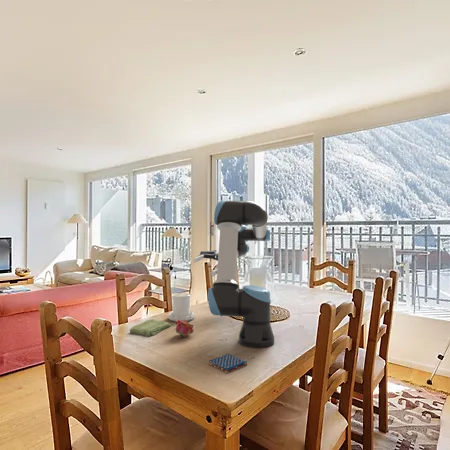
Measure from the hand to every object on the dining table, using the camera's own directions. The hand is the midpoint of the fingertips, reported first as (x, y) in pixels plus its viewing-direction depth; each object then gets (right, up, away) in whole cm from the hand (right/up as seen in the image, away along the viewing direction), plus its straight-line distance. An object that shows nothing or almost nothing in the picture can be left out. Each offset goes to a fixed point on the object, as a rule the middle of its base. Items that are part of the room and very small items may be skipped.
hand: (203, 266), depth 178 cm
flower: (-7, -28, -30) cm, 41 cm away
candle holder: (-11, -27, -2) cm, 29 cm away
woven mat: (+13, -28, -59) cm, 67 cm away
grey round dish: (-11, -27, -2) cm, 30 cm away
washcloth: (-24, -28, -20) cm, 42 cm away
